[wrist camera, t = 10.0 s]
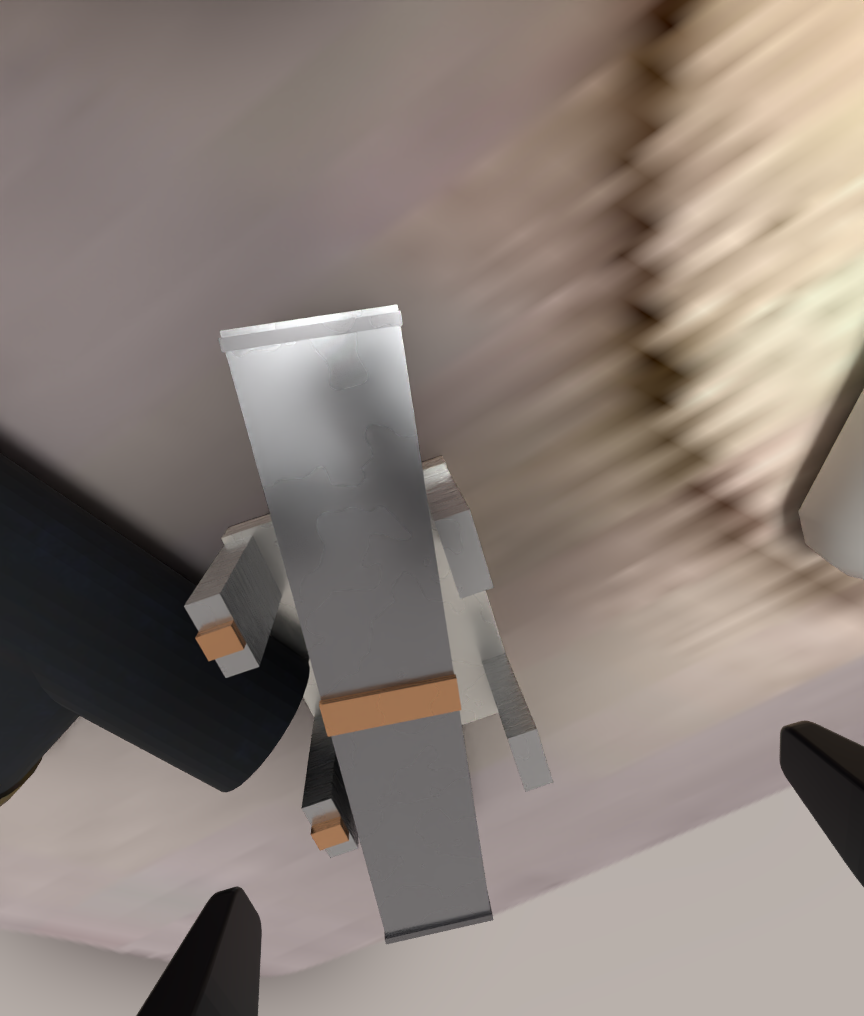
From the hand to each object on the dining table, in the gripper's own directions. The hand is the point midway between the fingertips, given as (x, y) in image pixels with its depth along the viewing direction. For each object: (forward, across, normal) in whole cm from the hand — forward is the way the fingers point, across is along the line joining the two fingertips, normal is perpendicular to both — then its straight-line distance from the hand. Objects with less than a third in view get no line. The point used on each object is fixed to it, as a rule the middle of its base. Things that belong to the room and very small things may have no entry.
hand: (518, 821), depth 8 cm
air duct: (+11, +3, +3) cm, 11 cm away
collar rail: (+12, +3, +3) cm, 12 cm away
